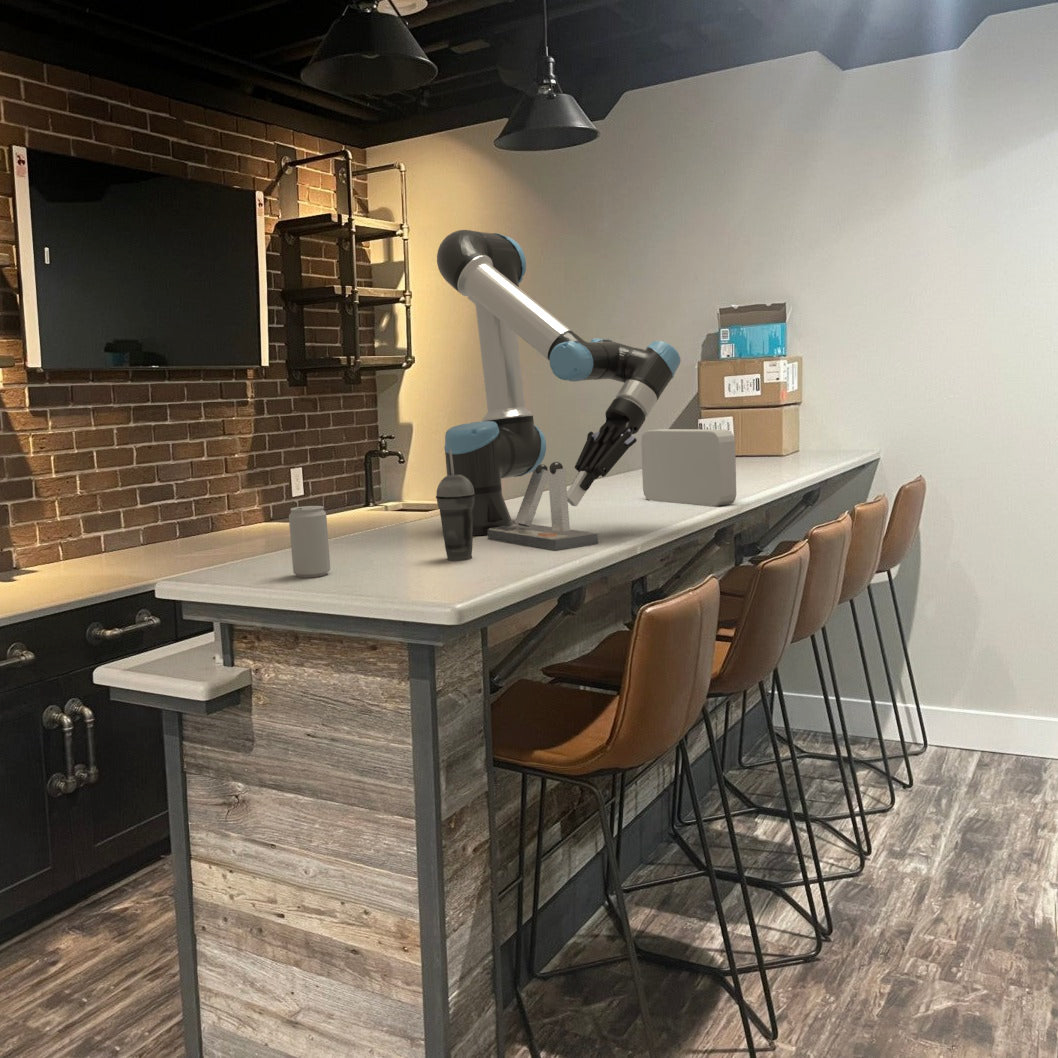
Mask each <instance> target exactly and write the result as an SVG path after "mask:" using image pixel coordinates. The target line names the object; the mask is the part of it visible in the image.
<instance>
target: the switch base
mask: <svg viewBox="0 0 1058 1058" xmlns="http://www.w3.org/2000/svg"><path fill="white" fill-rule="evenodd" d="M487 532H488V534H487V540H492V541H499V542H505V543H509V544H515V545H522V546H527V547H533V548H538V549H546V550H551V551H555V552H556V551H562V550H563V551H564V550H568V549H574V548H579V547H580V548H581V547H586V546H592V545H598V544H599V534H598V533H597V532H591V531H584V530H576V529H570V531H564V532H562V531H555V530H552V526H547V525H540V524H534V523H531V526H530V527H528V526H521V525H518V524H516V525H515V524H514V525H512V526H502V527H495V528H489V529H487Z"/></svg>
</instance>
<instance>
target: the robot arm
mask: <svg viewBox="0 0 1058 1058" xmlns="http://www.w3.org/2000/svg"><path fill="white" fill-rule="evenodd" d="M441 241H442V242H440V244H439V247H438V249H437V253H436V254H437V255H436V264H437V268H438V270H439V271H438V272H439V273H440V275H441V276H442V278H443V279H444V280H445V281H446V283H447V284H449V285H450V286H451V287H452V288H453V289H455V290H456V292H458V293H459V294H460V295H462V296H463V297H467V299H468V300H469V301H471V302H472V303H473V304H474V306H475V312H476V319H477V320H476V321H477V328H478V329H477V331H478V338H479V346H480V348H479V349H480V356H481V364H482V372H483V373H482V374H483V382H484V391H485V401H486V408H487V411H486V414H485V415H484V417H483V418H482V419H481V421H474V422H470V423H469V422H468V423H462V424H458V425H455V426H452V427H449V428H448V429H447V431H446V432H445V434H444V448H443V449H444V452H445V453H444V455H445V467H446V476H448V475H452V474H451V465H450V456H449V450H452V459H453V468H454V474H460V475H463V476H465V477H466V478H467V479H468V480H469V481H470V482H471V483H472V485H473V488H474V493H475V502H474V507H473V536H485V535H487V536H488V532H487V529H489V528H495V527H502V526H513V524H512V516H511V514H510V512H509V509H508V507H507V504H506V501H505V499H504V496H503V490H502V480H503V479H508V478H516V477H522V476H524V475H525V476H526V475H528V474H530V473H533V471H534V469H536V468H537V466H539V465H541V464H543V460H544V459H545V457H546V452H547V442H546V437H545V435H544V433H543V431H541V430H540V428H539V427H538V425H537V426H536V425H535V423H534V422H535V421H534V414H533V413H532V412H531V411H529V409H527V408H526V402H525V395H524V394H525V393H524V384H523V375H522V366H521V365H522V363H521V357H520V348H519V347H520V346H519V338H518V336H519V337H520V338H521V339H522V340H524V341H525V342H526V343H527V344H529V346H531V347H532V348H533V349H534V350H536V351H537V352H538V353H539V354H540V355H542V357H544V358H546V359H547V360H548V361H549V366H550V369H551V371H552V374H553V375H554V376H555V377H557V378H558V379H560V380H562V381H569V382H581V381H594V380H595V381H596V380H612V381H617V382H619V383H620V382H621V383H623V384H622V386H621V388H620V389H619V391H618V392H617V393H616V395H615V396H614V397H615V398H614V399H613V400H612V401H611V403H610V405H609V406H608V408H607V409H606V410H605V413H604V414H605V422H604V423H603V424H602V426H600V428H599V430H598V431H597V432H593V431H589V432H588V433H587V435H586V436H587V437H586V441H585V444H584V446H583V447H582V450H581V453H580V455H579V456H578V458H577V461H576V463H575V466H574V469H575V470H576V471H577V472H578V474H577V475H576V476H575V478H574V479H573V482H572V483H571V485H570V486H569V488H568V489H567V499H568V504H569V505H570V506H572V507H578V505H579V504H580V502H581V501H582V500H583V497H584V496H585V495H586V493H587V491H588V490H589V489H590V487H591V485H592V484H593V483H594V481H595V480H597V479H598V478H600V477H602V478H604V477H605V476H607V475H608V473H609V472H610V471H611V470H612V469H613V467H614V466H615V465H616V464H617V463H618V461H619V460H620V459H621V458H622V457H623V456H624V454H625V453H626V452H627V450H629V449H630V448H631V447H633V445H634V444H636V443H637V440H638V439H637V438H636V437H635V436H634V435H635V434H637V433H638V432H639V430H640V429H641V427H642V426H643V424H644V423H645V421H646V418H648V416H649V414H650V413H651V412H652V409H654V406H655V405H656V403H657V402H658V400H659V399H660V397H661V395H662V394H663V392H664V390H665V389H666V388H667V386H668V385H669V383H670V382H671V380H672V379H673V378H674V377H675V374H676V372H677V370H678V369H679V366H680V364H681V356H680V354H679V352H678V350H677V349H676V348H675V347H674V346H672V345H671V344H670V343H668V342H665V341H664V340H663V341H662V340H657V341H652V342H650V343H649V345H648V346H647V347H646V348H645V349H643V348H639V347H633V346H629V345H626V344H623V343H619V342H615V341H613V340H611V339H603V338H598V337H594V338H592V339H591V340H590V341H585V340H584V339H583V338H582V337H580V335H578V334H576V333H575V332H574V331H573V330H572V329H571V328H569V327H568V326H567V325H566V324H565V323H563V321H561V320H560V319H558V318H557V317H556V316H554V315H553V314H552V313H551V312H549V311H548V310H547V309H546V308H545V307H544V306H542V305H541V304H539V302H538V301H536V300H535V299H533V298H532V297H531V296H530V295H529V294H528V293H526V292H525V291H524V290H522V289H521V288H520V286H519V285H520V283H522V281H523V279H524V278H523V276H525V274H526V271H527V259H526V256H525V253H524V250H523V248H522V247H521V245H520V244H519V242H517V241H515V240H514V238H512V237H509V236H507V235H503V234H501V233H498V232H494V233H493V232H492V233H490V232H483V231H476V230H472V229H459V230H456V231H454V232H453V231H452V232H451V233H449V234H448V235H446V236H445V237H444V239H443V240H441Z"/></svg>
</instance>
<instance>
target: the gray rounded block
mask: <svg viewBox="0 0 1058 1058" xmlns="http://www.w3.org/2000/svg"><path fill="white" fill-rule="evenodd" d="M640 440H641V441H640V442H641V443H640V444H641V445H640V448H641V467H642V468H641V470H642V471H641V472H642V473H641V474H642V492H643V496H644V497H645V498H646V499H647V500H649V501H651V500H652V501H651V502H663V503H673V504H683V505H692V506H693V505H694V506H695V505H696V506H704V507H705V506H706V507H719V506H727V505H732V504H734V503H735V501H736V499H737V498H736V497H737V467H736V466H737V465H736V464H737V463H736V460H737V459H736V438H735V435H734V433H733V432H732V431H731V430H728V429H710V428H709V429H704V428H703V429H702V428H701V429H695V428H694V429H691V428H689V429H688V428H687V429H686V428H683V429H681V428H680V429H679V428H678V429H677V428H675V429H673V428H671V429H670V428H669V429H668V428H660V429H648V430H645V431H643V433H642V434H641V439H640Z"/></svg>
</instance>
